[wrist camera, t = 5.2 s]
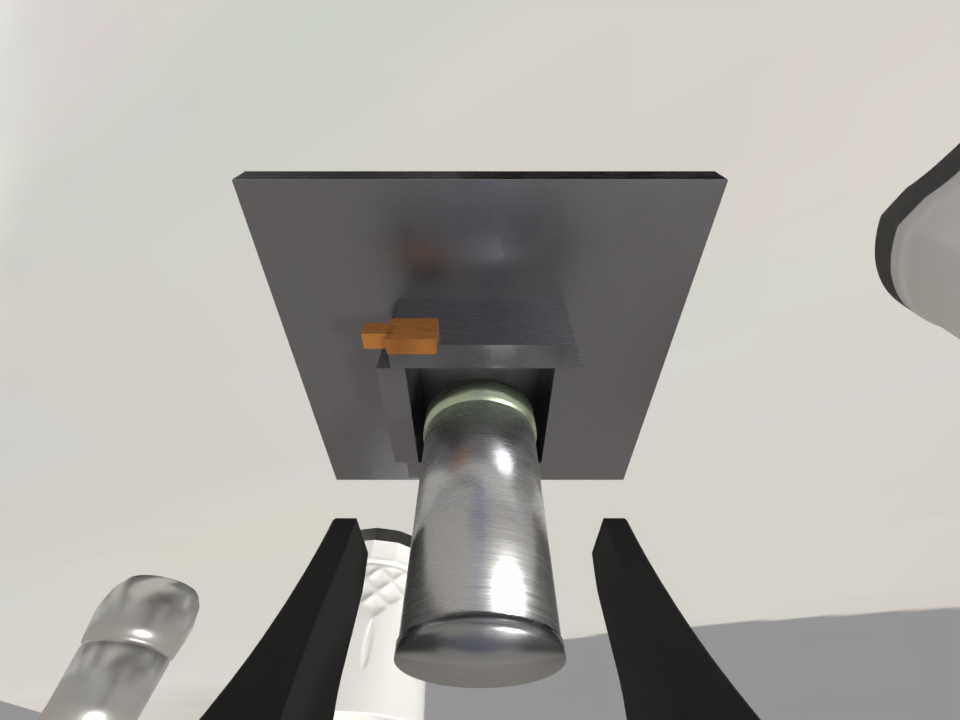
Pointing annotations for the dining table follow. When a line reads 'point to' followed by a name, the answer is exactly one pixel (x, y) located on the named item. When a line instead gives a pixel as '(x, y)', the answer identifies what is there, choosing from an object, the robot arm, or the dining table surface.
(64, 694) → the plastic bottle
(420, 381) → the stand base
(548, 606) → the silver metal canister
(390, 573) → the white cup
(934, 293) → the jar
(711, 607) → the dining table surface
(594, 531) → the dining table surface
